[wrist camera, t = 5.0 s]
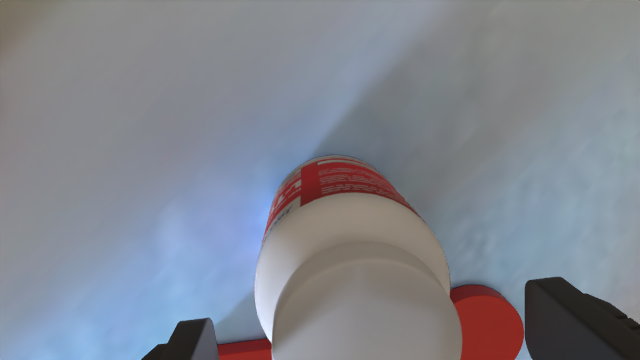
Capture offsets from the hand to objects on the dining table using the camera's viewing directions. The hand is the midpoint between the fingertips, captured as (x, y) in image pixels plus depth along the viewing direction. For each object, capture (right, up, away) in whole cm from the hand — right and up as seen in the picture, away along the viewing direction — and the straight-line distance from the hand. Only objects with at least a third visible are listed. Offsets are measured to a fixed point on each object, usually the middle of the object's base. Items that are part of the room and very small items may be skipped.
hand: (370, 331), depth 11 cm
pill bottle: (-1, +2, +10) cm, 11 cm away
